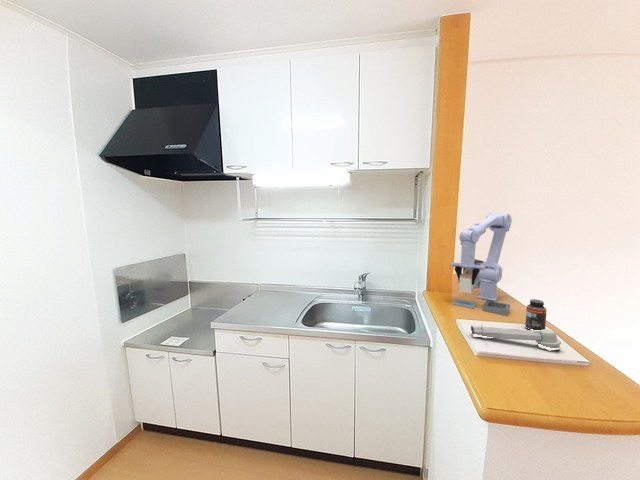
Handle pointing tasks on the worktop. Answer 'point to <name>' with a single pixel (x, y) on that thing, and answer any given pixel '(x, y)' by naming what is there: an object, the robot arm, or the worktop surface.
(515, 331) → the angled head flashlight
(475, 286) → the coffee box
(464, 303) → the rubber mat
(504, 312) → the frame
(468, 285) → the beige pink box
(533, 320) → the supplement bottle
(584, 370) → the worktop surface
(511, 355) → the worktop surface
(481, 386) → the worktop surface
